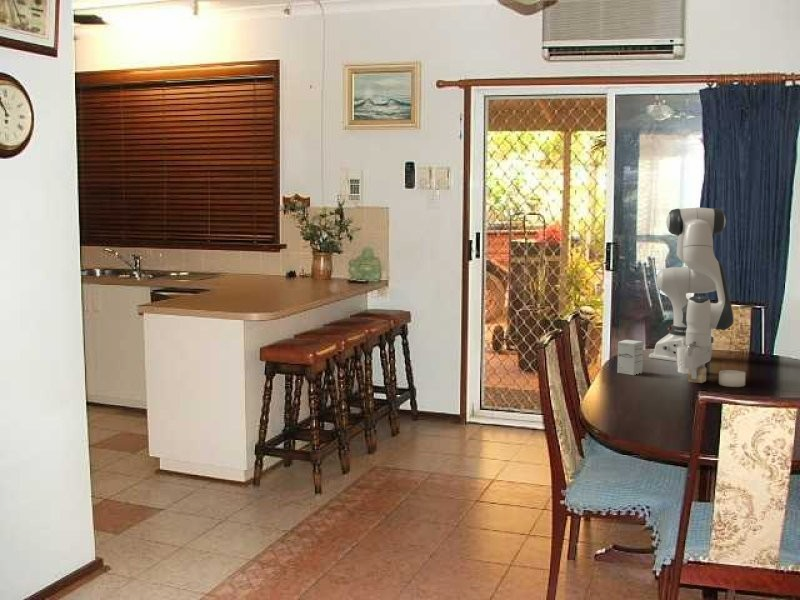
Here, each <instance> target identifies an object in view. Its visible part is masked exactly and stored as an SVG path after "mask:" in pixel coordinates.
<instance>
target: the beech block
mask: <svg viewBox="0 0 800 600" xmlns="http://www.w3.org/2000/svg"><path fill="white" fill-rule="evenodd" d="M697 374H698V377H697V378H696V379H692V378H691V375H692V374H691V371H690V369H689V372H688V374H687V375H688V377H687V379H688V380H687V382H688V383H697V384H703V383H705V382H707V367H697Z"/></svg>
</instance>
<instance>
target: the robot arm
mask: <svg viewBox="0 0 800 600" xmlns="http://www.w3.org/2000/svg"><path fill="white" fill-rule="evenodd" d="M726 222H727V220H726V216H725V213H724V211H723V210H722V209H720V208H717V207H716V208H715V207H713V208H709V207H689V208H673V209H671V210H670V211H669V212H668V214H667V217H666V222H665V223H666V228H667V231H668V232H669V233H670V234H672V235H674V236H677V242H676V243H677V245H676V256H677V258H678V260H680V262H681V263H684V264H685V265H686V266H672V267H666V268H661V269H660V270H659V271H658V272H657V274H656V277H655V283H656V286H657V288H658V290H659V291H660V292H662V293H663V294H665V295H666V297H667V298H668V299H669V301H670V303H671V306H672V311H673V313H672V314H673V324H671V325H670V326H668V327H667V331H668V334H666V335H665V336H664V337H662V338H660V339H659V340H658V341H657V342H656V343H655V346H654V351H653V352H651V353H649V354H648V358H651V359H656V360H657V359H658V360H664V361H671V362H677V346H689V347H688V348H686V350H685V358H684V367H685V368H687V369H690V371H691V374H692V375H691V378H692V379H696V378H697V377H698V374H697V367H704V368H706V364H707V363H709V362H710V361H711V359H712V352H713V343H714V341H715V340H714V336H712V330H719V331H726V330H728V329H729V328H731V326H733V325H734V321H735V314H734V310H733V308H732V304H731V299H730V295H729V289H728V283H727V278H726V273H725V268H724V266H723V264H722V262H721V261H719V260H717V258H716V256H715V252H714V238H713V236H714V235H715V236H717V235H720V234H721V233H722V232H723V231H724V228H725V226H726ZM711 292H712V293H713V292H716V295H717V302H716V303H713V302H711V300H710V298H709V297H707V296H703V295H694V296H690V297H689V298H688V297H687V294H707V293H711Z"/></svg>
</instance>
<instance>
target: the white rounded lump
mask: <svg viewBox="0 0 800 600" xmlns="http://www.w3.org/2000/svg"><path fill="white" fill-rule="evenodd" d="M718 384H719V385H720V386H724V387H728V388H729V387H731V388H740V387H744V386H746V372H745V371H741V370H736V369H735V370H733V369H730V370H729V369H726V370H719V372H718Z"/></svg>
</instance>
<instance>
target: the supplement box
mask: <svg viewBox="0 0 800 600" xmlns="http://www.w3.org/2000/svg"><path fill="white" fill-rule="evenodd" d="M643 356H644V341H641V340H640V341H639V340H632V339H623V340H621V341H618V342H617V374H623V375H629V376H630V375H631V376H636V374H637V375H639V373H640V374H642V373H643V364H644V360H643V358H644V357H643Z"/></svg>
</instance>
